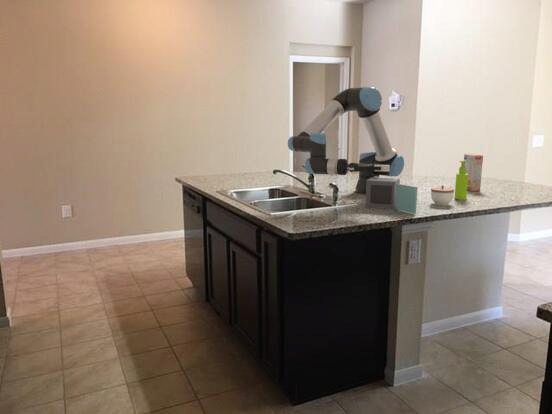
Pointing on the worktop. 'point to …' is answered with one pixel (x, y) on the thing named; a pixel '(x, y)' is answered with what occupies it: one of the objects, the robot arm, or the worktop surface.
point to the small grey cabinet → (380, 192)
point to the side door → (405, 198)
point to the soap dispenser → (461, 182)
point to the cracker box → (473, 171)
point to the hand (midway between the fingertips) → (389, 168)
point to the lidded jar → (442, 195)
